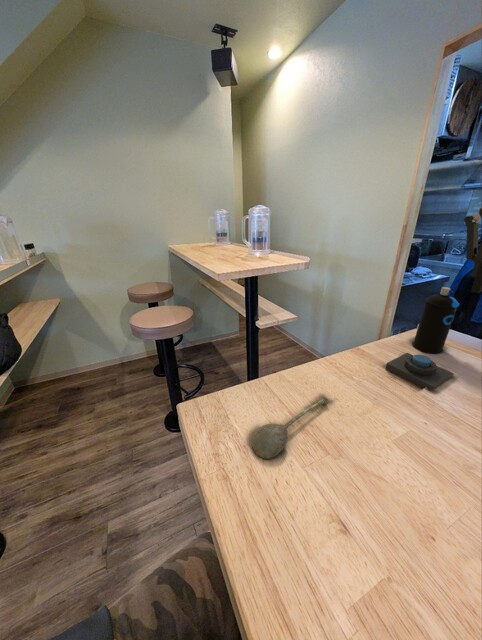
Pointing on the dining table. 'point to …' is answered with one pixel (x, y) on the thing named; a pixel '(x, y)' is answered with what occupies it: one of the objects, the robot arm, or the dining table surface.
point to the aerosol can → (435, 322)
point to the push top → (421, 360)
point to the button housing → (418, 372)
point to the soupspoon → (275, 435)
